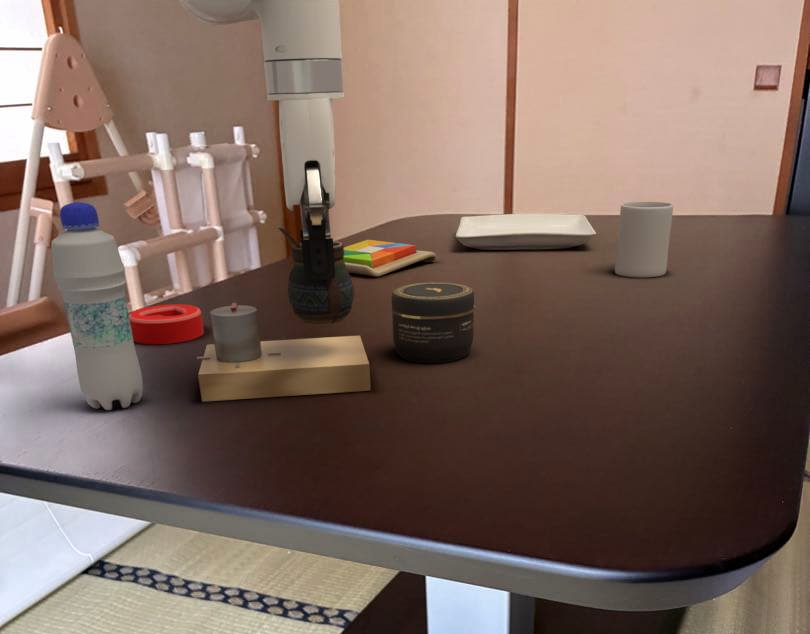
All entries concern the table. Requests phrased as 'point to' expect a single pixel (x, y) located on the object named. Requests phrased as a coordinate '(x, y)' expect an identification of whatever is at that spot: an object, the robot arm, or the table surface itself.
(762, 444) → the table surface
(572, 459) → the table surface
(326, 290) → the mate gourd
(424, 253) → the wooden puzzle
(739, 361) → the table surface
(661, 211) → the mug
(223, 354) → the cylinder
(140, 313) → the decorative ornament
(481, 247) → the square plate
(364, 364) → the wooden peg base
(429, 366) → the table surface
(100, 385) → the bottle
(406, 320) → the jar
